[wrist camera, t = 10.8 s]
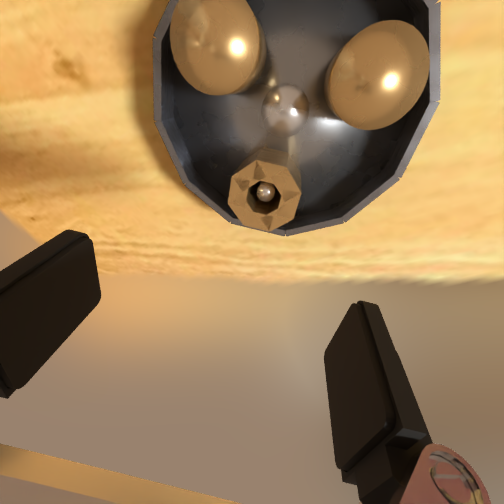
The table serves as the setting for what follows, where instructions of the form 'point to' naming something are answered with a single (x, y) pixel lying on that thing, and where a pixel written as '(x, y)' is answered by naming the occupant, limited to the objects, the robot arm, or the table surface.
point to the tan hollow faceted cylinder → (272, 171)
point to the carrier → (296, 96)
